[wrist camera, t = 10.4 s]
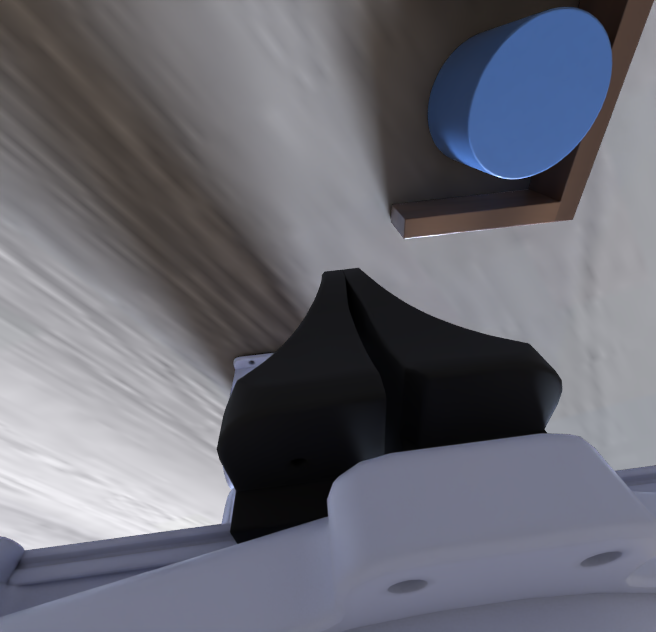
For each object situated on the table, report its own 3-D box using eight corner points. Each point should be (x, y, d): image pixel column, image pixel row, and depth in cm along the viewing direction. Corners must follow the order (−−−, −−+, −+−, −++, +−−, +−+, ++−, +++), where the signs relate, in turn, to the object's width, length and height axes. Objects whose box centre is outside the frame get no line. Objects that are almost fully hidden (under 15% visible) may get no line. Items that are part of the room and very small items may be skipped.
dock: (390, 222, 21) (403, 239, 18) (400, -57, 14) (423, -91, 11) (540, 205, 21) (573, 219, 19) (626, -78, 14) (697, -115, 12)
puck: (422, 166, 19) (457, 185, 15) (433, 35, 16) (483, 13, 11) (518, 156, 19) (579, 172, 15) (551, 24, 16) (641, -1, 12)
